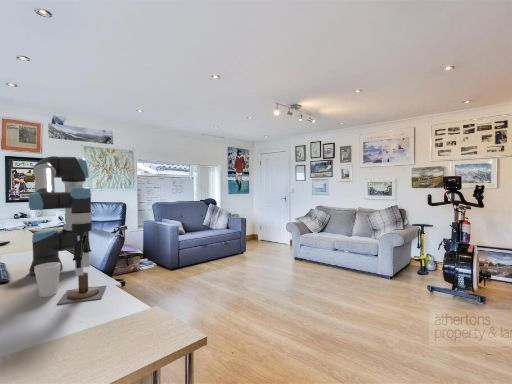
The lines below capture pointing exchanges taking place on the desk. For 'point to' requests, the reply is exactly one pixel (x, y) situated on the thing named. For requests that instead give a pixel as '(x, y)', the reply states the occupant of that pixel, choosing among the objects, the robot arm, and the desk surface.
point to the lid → (83, 289)
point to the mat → (66, 300)
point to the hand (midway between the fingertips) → (83, 270)
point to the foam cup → (47, 278)
